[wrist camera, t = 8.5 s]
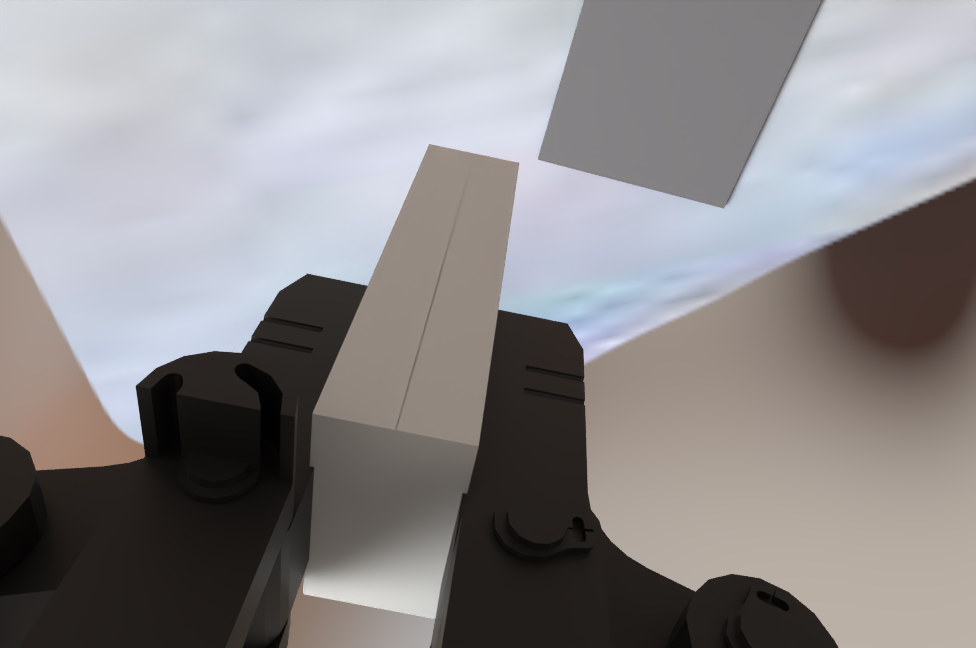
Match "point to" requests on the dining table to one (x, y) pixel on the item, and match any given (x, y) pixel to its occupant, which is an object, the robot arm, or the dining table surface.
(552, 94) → the dining table surface
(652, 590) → the robot arm
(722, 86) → the grey flat board
